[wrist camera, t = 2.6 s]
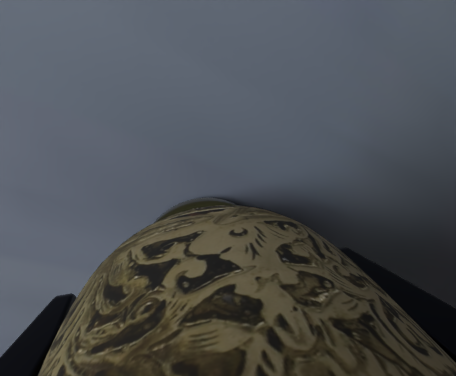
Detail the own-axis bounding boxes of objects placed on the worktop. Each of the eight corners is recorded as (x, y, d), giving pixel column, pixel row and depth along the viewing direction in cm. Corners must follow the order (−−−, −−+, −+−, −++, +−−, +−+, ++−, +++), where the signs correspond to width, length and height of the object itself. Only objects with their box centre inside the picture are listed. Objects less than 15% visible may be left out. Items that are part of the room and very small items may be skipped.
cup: (238, 340, 13) (330, 714, 6) (35, 293, 10) (-204, 894, 3) (362, 188, 11) (737, 535, 4) (139, 66, 8) (42, 624, 1)
